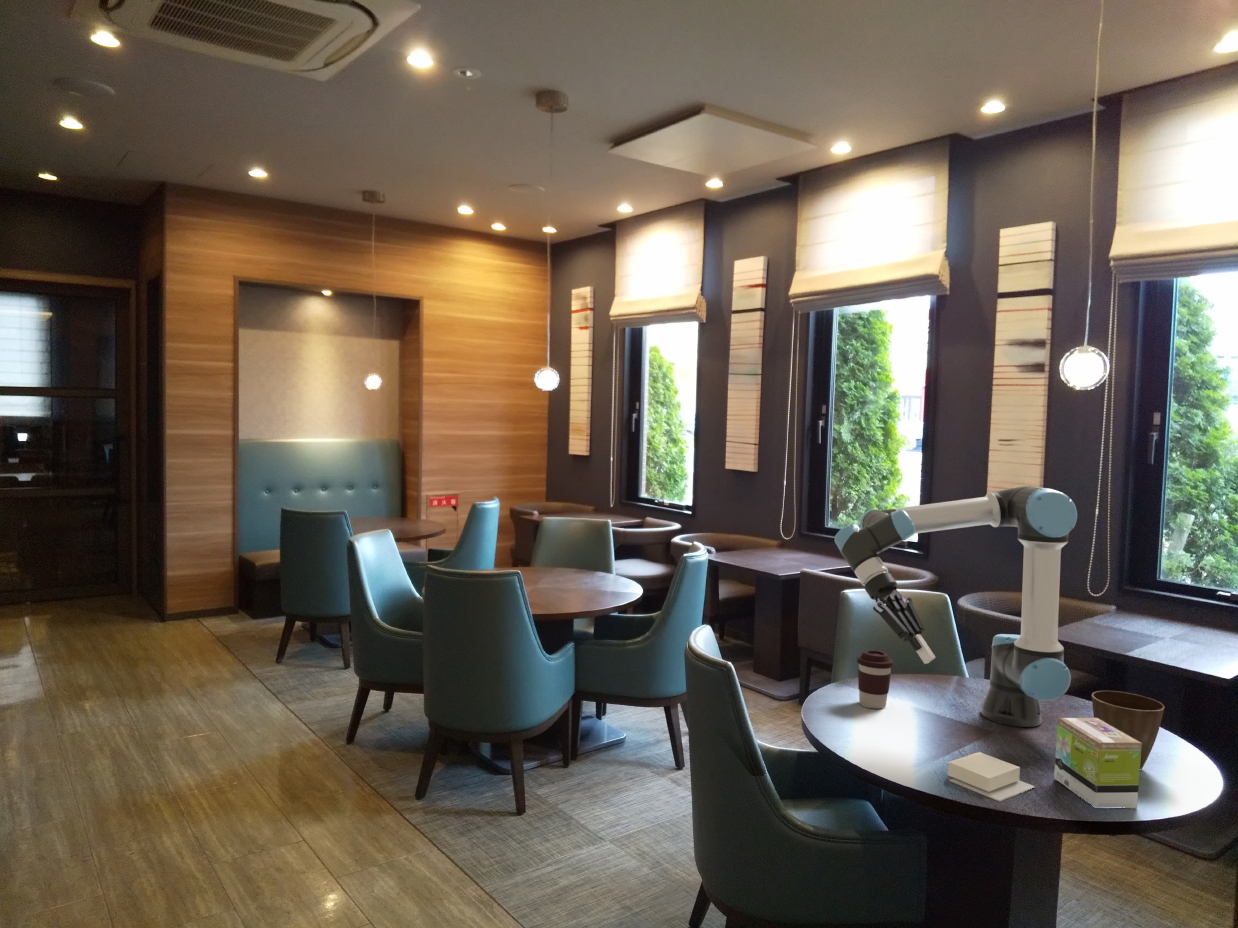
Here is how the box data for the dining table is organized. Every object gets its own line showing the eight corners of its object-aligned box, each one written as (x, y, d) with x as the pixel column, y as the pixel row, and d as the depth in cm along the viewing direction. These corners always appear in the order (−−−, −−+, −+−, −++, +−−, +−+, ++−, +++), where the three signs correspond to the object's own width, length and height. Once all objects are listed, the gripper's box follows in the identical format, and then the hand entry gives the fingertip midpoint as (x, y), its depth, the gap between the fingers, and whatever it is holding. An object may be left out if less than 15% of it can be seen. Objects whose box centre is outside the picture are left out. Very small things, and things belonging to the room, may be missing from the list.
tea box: (1051, 779, 193) (1056, 715, 192) (1093, 779, 194) (1097, 716, 193) (1094, 809, 178) (1099, 740, 177) (1139, 809, 179) (1144, 741, 178)
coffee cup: (892, 712, 234) (895, 659, 233) (855, 708, 236) (858, 655, 235) (888, 701, 244) (891, 649, 243) (853, 697, 246) (856, 646, 245)
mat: (985, 768, 197) (985, 766, 197) (1035, 787, 188) (1035, 786, 188) (949, 780, 189) (949, 779, 189) (999, 801, 180) (999, 800, 180)
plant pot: (1073, 757, 206) (1077, 693, 206) (1114, 750, 213) (1118, 687, 212) (1132, 782, 193) (1137, 713, 192) (1173, 773, 199) (1178, 706, 198)
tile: (979, 751, 198) (1020, 767, 189) (978, 765, 198) (1019, 781, 190) (948, 761, 191) (989, 778, 183) (947, 776, 191) (988, 793, 183)
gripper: (883, 585, 221) (936, 664, 208) (850, 590, 213) (903, 672, 200) (901, 568, 216) (956, 648, 203) (868, 572, 209) (923, 655, 196)
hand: (930, 660), depth 202 cm, fingers closed
